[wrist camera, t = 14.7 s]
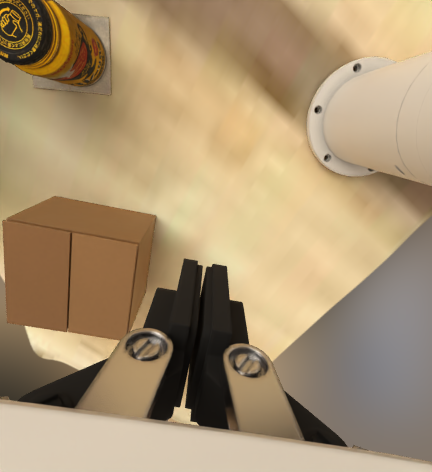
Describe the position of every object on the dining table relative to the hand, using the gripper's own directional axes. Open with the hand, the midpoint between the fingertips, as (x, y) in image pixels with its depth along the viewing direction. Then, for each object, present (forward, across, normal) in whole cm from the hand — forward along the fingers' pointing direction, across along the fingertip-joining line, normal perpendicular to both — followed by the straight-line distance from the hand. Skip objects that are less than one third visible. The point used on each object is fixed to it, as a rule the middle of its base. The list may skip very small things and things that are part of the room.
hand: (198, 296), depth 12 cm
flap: (+17, +9, +12) cm, 23 cm away
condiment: (+27, +17, -10) cm, 34 cm away
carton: (+27, +12, +12) cm, 32 cm away
